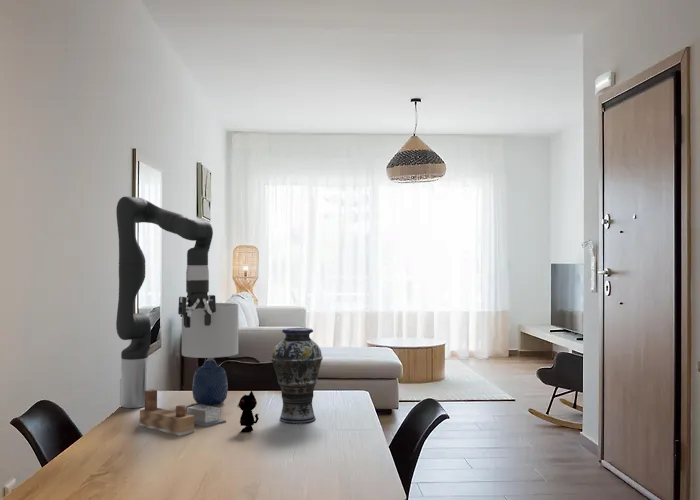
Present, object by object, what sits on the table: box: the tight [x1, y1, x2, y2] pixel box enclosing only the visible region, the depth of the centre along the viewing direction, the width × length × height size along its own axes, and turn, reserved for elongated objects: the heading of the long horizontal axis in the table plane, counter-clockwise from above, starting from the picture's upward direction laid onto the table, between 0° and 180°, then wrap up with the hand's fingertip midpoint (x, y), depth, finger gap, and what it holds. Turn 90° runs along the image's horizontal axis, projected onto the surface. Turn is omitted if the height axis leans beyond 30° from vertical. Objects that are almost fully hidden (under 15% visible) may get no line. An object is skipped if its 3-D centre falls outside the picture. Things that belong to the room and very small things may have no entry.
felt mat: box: [194, 418, 227, 428], centre depth 227 cm, size 12×9×1 cm
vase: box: [270, 326, 323, 425], centre depth 230 cm, size 17×17×30 cm
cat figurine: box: [236, 389, 260, 434], centre depth 215 cm, size 7×7×12 cm
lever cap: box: [186, 403, 221, 424], centre depth 227 cm, size 9×6×5 cm, turn 52°
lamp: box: [181, 302, 239, 407], centre depth 255 cm, size 20×20×37 cm
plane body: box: [139, 389, 195, 437], centre depth 218 cm, size 20×6×11 cm, turn 52°
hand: (197, 326), depth 237 cm, fingers open, 8 cm apart
